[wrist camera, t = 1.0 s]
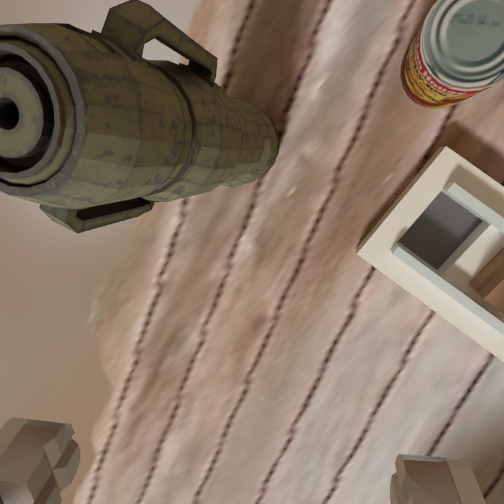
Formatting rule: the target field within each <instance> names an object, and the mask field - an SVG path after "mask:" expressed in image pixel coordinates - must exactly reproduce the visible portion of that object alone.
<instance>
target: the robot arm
mask: <svg viewBox="0 0 504 504" xmlns="http://www.w3.org/2000/svg"><path fill="white" fill-rule="evenodd" d="M73 434H74V430H73V427H72V425H71V424H68V423H58V422H50V421H41V420H33V419H23V418H12V419H10V420H9V421H7V422H6V423H5V424H4V425H3V427H2V428H1V429H0V504H61V502H62V498H61V491H62V490H63V489H65V488H66V487H67V486H68V485H70V484H71V483H72V481H73V479H74V477H75V475H76V473H77V470H78V466H79V462H80V448H79V445H78V443H77V442H75V441H74V440H73V439H72V436H73ZM395 466H396V471H397V472H396V473H395V474H393V475H392V478H391V483H390V501H391V504H486V502H485V500H484V497H483V495H482V492H481V490H480V487H479V485H478V482H477V480H476V477H475V475H474V472H473V470H472V467H471V465H470V464H469V463H468V462H467V461H466V460H460V459H445V458H442V457H431V456H418V455H405V454H399V455H398V456H397V458H396V462H395Z"/></svg>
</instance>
